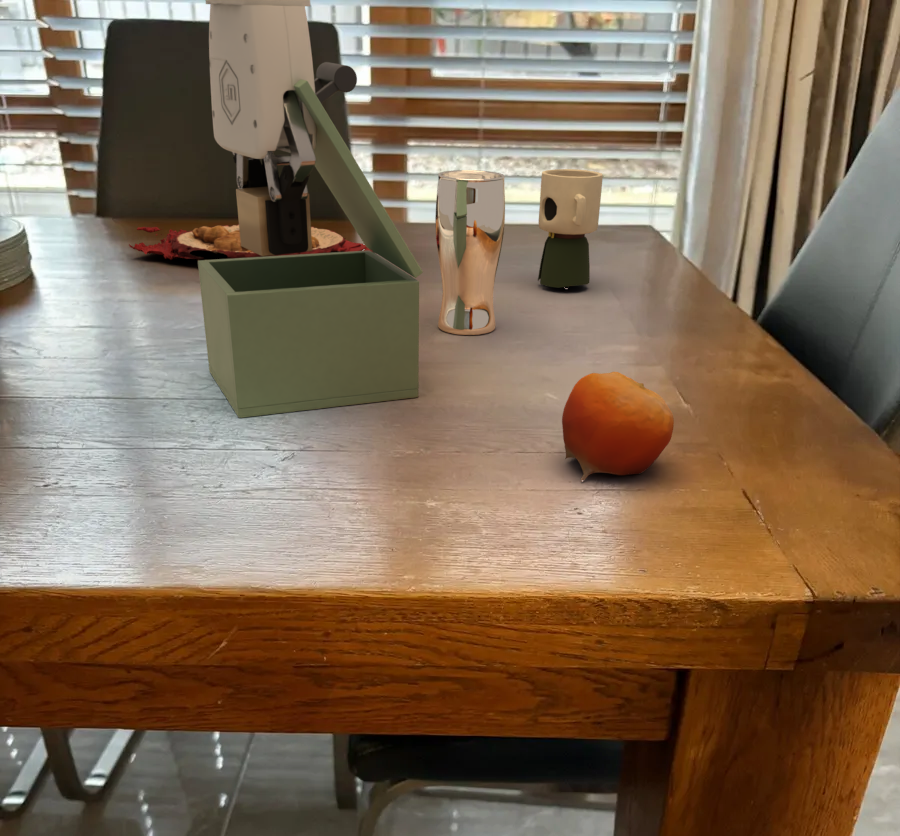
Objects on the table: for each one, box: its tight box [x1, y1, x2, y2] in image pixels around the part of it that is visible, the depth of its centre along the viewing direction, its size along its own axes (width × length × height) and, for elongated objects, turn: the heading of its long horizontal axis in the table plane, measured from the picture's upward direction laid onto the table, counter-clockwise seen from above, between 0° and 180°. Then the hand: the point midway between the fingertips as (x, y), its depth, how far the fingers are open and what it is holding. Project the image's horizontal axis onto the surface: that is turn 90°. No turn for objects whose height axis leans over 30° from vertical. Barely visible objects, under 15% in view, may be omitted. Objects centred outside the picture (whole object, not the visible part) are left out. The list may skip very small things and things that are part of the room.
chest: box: [197, 250, 420, 419], centre depth 84 cm, size 16×13×10 cm
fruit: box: [561, 371, 675, 481], centre depth 71 cm, size 8×8×8 cm
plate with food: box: [128, 224, 373, 262], centre depth 131 cm, size 24×26×4 cm
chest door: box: [293, 61, 424, 279], centre depth 79 cm, size 16×13×5 cm
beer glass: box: [434, 169, 506, 336], centre depth 100 cm, size 7×7×15 cm
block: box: [235, 187, 312, 256], centre depth 79 cm, size 4×4×4 cm
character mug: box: [537, 168, 604, 289], centre depth 117 cm, size 11×7×13 cm, turn 8°
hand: (275, 244), depth 80 cm, fingers closed on block, 4 cm apart
